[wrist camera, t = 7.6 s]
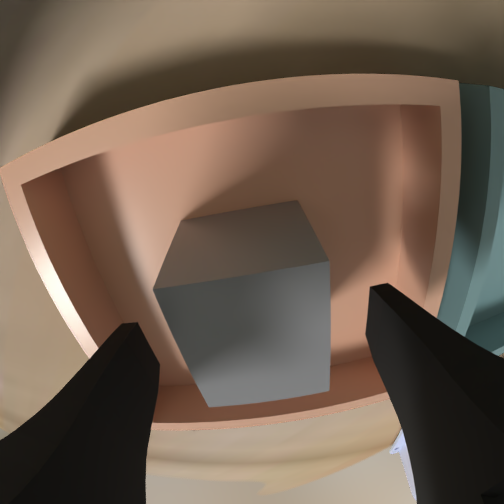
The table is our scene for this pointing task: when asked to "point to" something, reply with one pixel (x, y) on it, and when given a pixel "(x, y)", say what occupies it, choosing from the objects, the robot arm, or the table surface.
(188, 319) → the stone block
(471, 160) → the slate bin
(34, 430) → the robot arm
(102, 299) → the terracotta bin
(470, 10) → the table surface
